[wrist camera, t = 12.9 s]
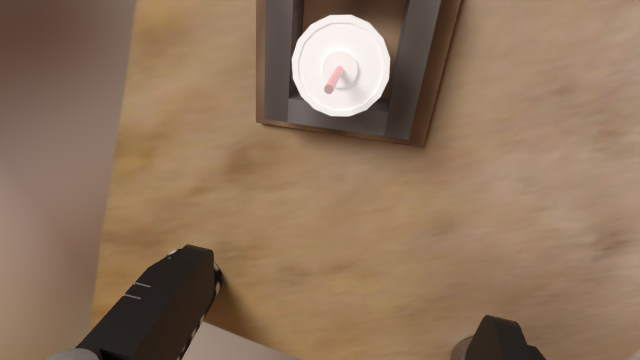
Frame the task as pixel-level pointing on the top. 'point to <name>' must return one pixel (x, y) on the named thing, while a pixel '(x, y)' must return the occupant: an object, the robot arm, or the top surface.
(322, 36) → the beverage cup
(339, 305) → the top surface
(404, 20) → the cup holder
